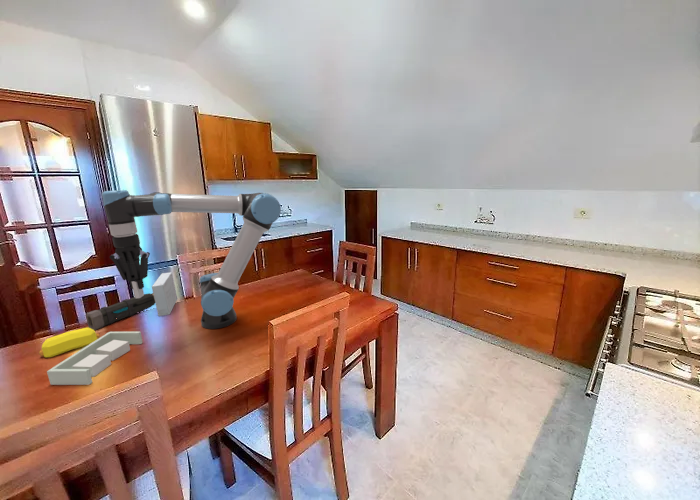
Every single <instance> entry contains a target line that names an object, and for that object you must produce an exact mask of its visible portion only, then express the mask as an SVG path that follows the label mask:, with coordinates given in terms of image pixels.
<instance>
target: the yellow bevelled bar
mask: <svg viewBox="0 0 700 500" xmlns="http://www.w3.org/2000/svg"><path fill="white" fill-rule="evenodd" d="M100 337H101V335H100V334H99V333H96V330H93V329H91V328H89V326H88V327H82V328H80V329H79V328H78V329H73V330H69V331H66V332H64V333H59V334H57V335H53V336H51V337H48V338H46V339H45V340H44V342H43V343H42V344H41V349H40V350H39V353H38V355H39V356H41V357H43V358H53V357H56V356H59V355H61V354H64V353H68V352H69V351H72V350H76V349H81V348H84V347H86V346H88V345H89V344H91V343H92V342H94V341H95V340H97V339H99V338H100Z"/></svg>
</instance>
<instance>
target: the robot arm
mask: <svg viewBox="0 0 700 500" xmlns="http://www.w3.org/2000/svg"><path fill="white" fill-rule="evenodd" d="M101 197H102V202H103V208H104V211H105V215H106V218H107V222H108V227H109V233H110V235H111V236H112V238H111V239H112V243H113V244H112V245H113V247H114V248H115V253H113V254H111V255H109V259H110V260H111V261H112V262H113V264H114V265H115V267H116V270H117V271H118V272H119V275H120V277H121V278H122V280H123V281H128V282H129V285H130V289H131V290H133V293H134V297H135V298H141V297H142V296H144V294H145V293H144V287H145V285H144V279H146V278H147V277H148V273H149V272H148V270H149V269H148V268H149V264H148V263H149V257H150V254H151V253H150V252H148V251H147V252H146V251H144V250H143V249H142V247H141V246H140V245H141V241H140V237H139V234H138V229H137V223H136V219H135V218H139V217H149V216H150V217H151V216H164V215H170V214H171V213H193V214H195V213H199V214H200V213H204V214H207V213H208V214H238V215H239V216H242V220H243V224H242V227H241V228H240V230H239V232H238V233H237V235H236V238H235V240H234V241H233V243H232V246H231V248H230V249H229V251H228V254H227V255H226V257H225V259H224V261H223V263H222V265H221V266H220V268H219V271H218V272H213V273H208V274H207V273H206V274H204V275H201V276H200V278H199V284H200V294H201V295H200V296H201V297H200V299H201V300H200V305H201V309H202V315H201V319H200V324H201V327H202V328H203V329H208V330H209V329H210V330H216V329H222V328H225V327H228V326H230V325H232V324H234V323H235V322H236V321H237V319H238V318H237V317H238V316H237V313H236V311H235V309H234V307H233V306H234V303H235V302H234V299H235V296H236V295H237V293H238V291H239V289H240V288H239V284H238V283H239V281H240V279H241V276H242V274H243V273H244V271H245V269H246V267H247V265H248V263H249V262H250V259H251V258H252V256H253V254H254V251H255V249H256V248H257V246H258V244H259V243H260V240H261V238H262V236H263V234H264V233H265V232H268V231H270V229H271V227H272V225H273V223H275V222H276V221H277V220H278V219H279V217H280V216H281V212H282V208H281V204H280V202H279V200H278V199H277V198H276V197H275V196H273V195H272V194H269V193H266V192H265V193H264V192H256V193H255V192H254V193H239V194H238V195H224V194H223V195H221V194H220V195H219V194H217V195H215V194H197V193H195V194H191V193H167V192H165V193H164V192H157V191H156V192H155V191H154V192H151V193H148V194H139V195H134V194H133V195H132V194H131V195H130V193H129V191H128V190H127V189H119V190H117V189H116V190H104V191H103V192H102V193H101Z"/></svg>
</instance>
